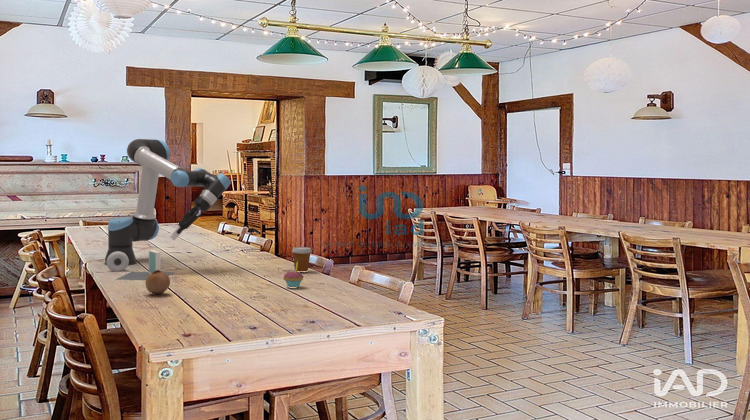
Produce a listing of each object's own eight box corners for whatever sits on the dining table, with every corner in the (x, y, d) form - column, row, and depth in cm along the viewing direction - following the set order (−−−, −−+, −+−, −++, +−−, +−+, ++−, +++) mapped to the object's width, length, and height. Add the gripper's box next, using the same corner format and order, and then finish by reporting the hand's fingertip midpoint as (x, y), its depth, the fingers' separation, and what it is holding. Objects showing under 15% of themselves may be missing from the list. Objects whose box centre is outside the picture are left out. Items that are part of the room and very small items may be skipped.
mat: (131, 272, 327) (131, 271, 326) (174, 273, 327) (174, 272, 327) (115, 280, 305) (115, 279, 305) (161, 281, 305) (161, 280, 305)
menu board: (153, 273, 323) (153, 249, 323) (160, 276, 315) (160, 252, 315) (148, 273, 322) (148, 250, 321) (156, 276, 314) (156, 252, 313)
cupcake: (306, 287, 301) (306, 259, 300) (297, 290, 293) (298, 262, 292) (288, 285, 304) (288, 258, 303) (279, 288, 296) (280, 260, 295)
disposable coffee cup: (288, 272, 338) (288, 248, 337) (297, 270, 346) (297, 246, 346) (305, 274, 334) (305, 249, 333) (314, 271, 343) (314, 247, 342)
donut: (128, 271, 331) (128, 250, 330) (129, 272, 328) (129, 251, 327) (106, 272, 327) (106, 251, 326) (106, 273, 324) (106, 252, 323)
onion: (156, 297, 270) (156, 272, 269) (140, 294, 275) (140, 270, 274) (175, 294, 278) (175, 269, 277) (159, 291, 283) (159, 267, 282)
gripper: (194, 195, 334) (161, 232, 326) (204, 196, 323) (170, 234, 315) (205, 205, 338) (173, 242, 329) (215, 206, 327) (182, 244, 319)
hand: (171, 238), depth 322 cm, fingers closed
